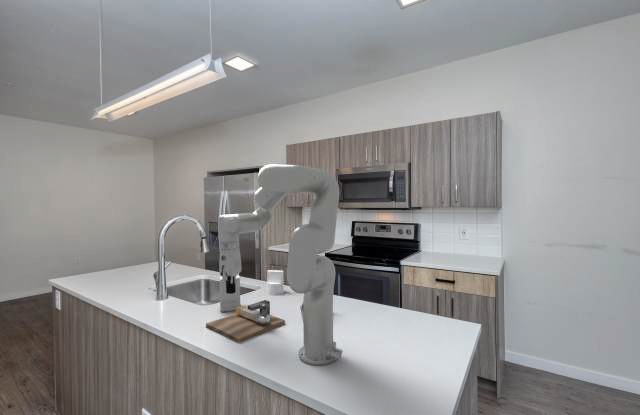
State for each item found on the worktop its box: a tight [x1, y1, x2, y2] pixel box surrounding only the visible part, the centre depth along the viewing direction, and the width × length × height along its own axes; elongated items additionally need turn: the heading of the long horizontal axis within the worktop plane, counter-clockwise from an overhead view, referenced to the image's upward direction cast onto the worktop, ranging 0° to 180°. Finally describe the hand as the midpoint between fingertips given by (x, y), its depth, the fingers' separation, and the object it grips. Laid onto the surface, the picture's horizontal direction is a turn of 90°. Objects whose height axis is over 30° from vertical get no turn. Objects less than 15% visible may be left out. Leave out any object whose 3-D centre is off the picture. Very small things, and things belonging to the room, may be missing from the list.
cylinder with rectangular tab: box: [266, 269, 285, 296], centre depth 166 cm, size 9×9×12 cm
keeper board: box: [205, 299, 286, 344], centre depth 121 cm, size 22×22×8 cm
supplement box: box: [219, 273, 241, 313], centre depth 142 cm, size 9×9×15 cm
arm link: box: [235, 303, 271, 325], centre depth 123 cm, size 19×4×8 cm, turn 49°
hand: (230, 292), depth 118 cm, fingers closed
